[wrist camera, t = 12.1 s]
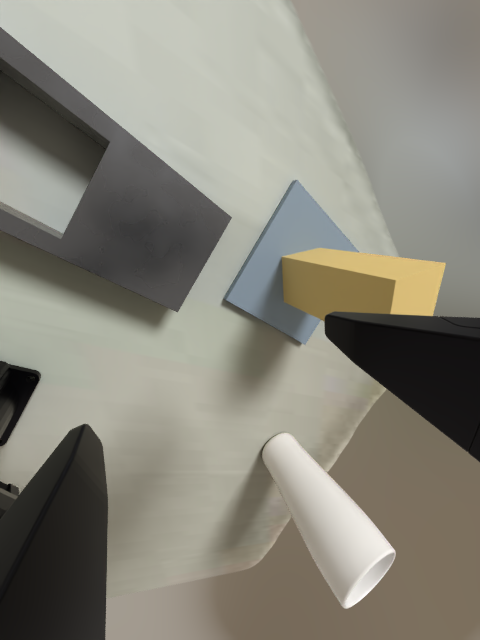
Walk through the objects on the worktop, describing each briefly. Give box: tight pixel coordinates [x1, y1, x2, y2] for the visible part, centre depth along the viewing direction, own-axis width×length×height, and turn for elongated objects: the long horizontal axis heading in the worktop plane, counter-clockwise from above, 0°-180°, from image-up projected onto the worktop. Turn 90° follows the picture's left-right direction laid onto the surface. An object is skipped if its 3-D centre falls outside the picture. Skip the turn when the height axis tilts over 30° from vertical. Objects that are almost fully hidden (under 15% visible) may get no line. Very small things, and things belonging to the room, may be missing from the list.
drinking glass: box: [262, 433, 396, 609], centre depth 27 cm, size 7×7×15 cm
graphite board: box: [0, 27, 232, 312], centre depth 14 cm, size 8×18×2 cm, turn 55°
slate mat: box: [224, 180, 360, 344], centre depth 24 cm, size 12×12×1 cm
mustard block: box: [282, 248, 445, 321], centre depth 19 cm, size 5×5×11 cm
